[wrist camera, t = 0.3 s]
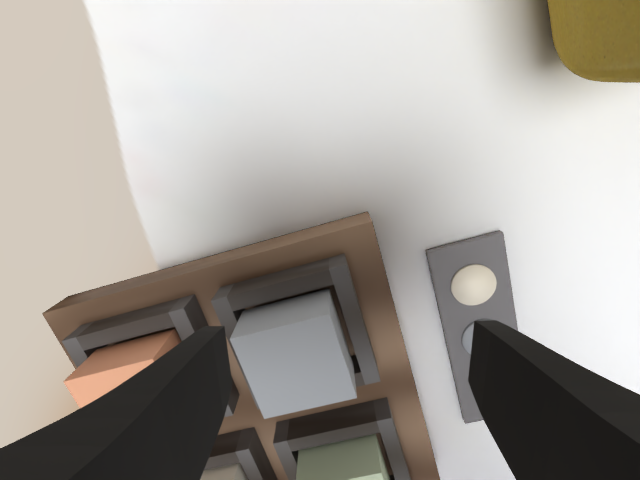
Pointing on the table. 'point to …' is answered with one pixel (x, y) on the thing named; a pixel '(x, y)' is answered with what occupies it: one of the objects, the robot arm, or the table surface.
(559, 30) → the flower pot
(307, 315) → the key slate
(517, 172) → the table surface
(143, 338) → the key terracotta
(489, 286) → the card
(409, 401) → the keypad
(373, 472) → the key sage
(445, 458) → the table surface
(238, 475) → the key cream
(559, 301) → the table surface
